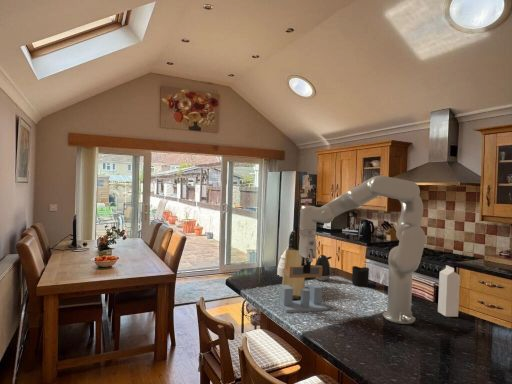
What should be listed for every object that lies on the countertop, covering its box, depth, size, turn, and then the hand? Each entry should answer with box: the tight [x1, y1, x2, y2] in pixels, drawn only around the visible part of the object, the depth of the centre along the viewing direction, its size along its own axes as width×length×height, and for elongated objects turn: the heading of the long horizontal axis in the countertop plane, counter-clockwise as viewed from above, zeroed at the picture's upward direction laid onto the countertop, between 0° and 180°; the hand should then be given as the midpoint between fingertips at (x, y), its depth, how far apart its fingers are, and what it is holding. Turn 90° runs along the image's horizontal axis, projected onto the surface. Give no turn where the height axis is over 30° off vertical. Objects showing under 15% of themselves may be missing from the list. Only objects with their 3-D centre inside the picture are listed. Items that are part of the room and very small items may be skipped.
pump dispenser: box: [314, 254, 332, 282], centre depth 205 cm, size 10×10×15 cm
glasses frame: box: [283, 265, 323, 279], centre depth 157 cm, size 9×16×5 cm, turn 104°
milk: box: [437, 265, 461, 318], centre depth 154 cm, size 6×6×22 cm
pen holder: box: [351, 265, 370, 288], centre depth 197 cm, size 9×9×10 cm
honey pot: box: [276, 246, 289, 278], centre depth 213 cm, size 13×13×18 cm
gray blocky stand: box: [278, 283, 329, 314], centre depth 156 cm, size 11×20×9 cm, turn 104°
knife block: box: [281, 230, 306, 300], centre depth 180 cm, size 11×35×31 cm, turn 170°
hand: (305, 272), depth 154 cm, fingers closed on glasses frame
